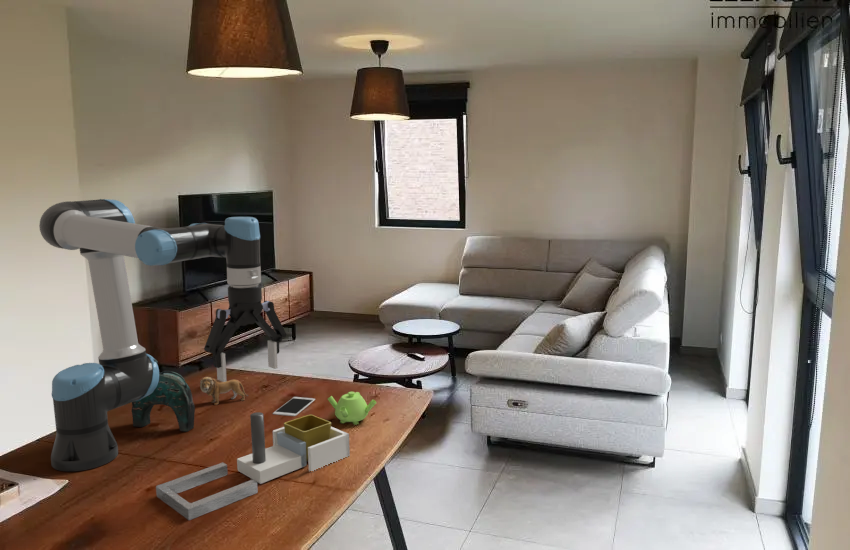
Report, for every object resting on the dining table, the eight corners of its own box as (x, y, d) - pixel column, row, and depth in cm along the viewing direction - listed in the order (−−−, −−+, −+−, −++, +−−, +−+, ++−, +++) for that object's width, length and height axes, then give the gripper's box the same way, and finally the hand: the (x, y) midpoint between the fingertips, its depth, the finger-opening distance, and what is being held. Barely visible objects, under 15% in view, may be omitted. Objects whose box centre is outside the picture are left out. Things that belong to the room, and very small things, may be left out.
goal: (311, 472, 163) (310, 448, 162) (273, 452, 174) (272, 430, 173) (349, 456, 171) (349, 433, 170) (311, 439, 182) (310, 417, 181)
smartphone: (315, 398, 213) (295, 415, 199) (315, 400, 213) (295, 417, 199) (293, 396, 215) (271, 413, 200) (294, 398, 215) (271, 415, 201)
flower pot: (312, 446, 178) (310, 413, 176) (333, 455, 172) (332, 422, 170) (284, 456, 171) (282, 422, 170) (305, 467, 165) (303, 432, 164)
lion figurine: (203, 408, 205) (202, 380, 204) (199, 403, 210) (197, 375, 208) (251, 399, 213) (249, 372, 212) (245, 394, 218) (244, 367, 216)
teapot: (362, 410, 203) (361, 383, 201) (378, 423, 193) (377, 395, 191) (326, 417, 197) (326, 389, 196) (341, 431, 188) (340, 401, 186)
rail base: (189, 520, 141) (188, 509, 140) (156, 496, 151) (155, 486, 151) (257, 492, 153) (257, 482, 152) (223, 472, 163) (222, 462, 162)
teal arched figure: (125, 427, 191) (121, 358, 188) (140, 419, 197) (136, 352, 194) (186, 434, 186) (183, 363, 183) (200, 426, 192) (197, 357, 189)
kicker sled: (260, 483, 156) (257, 423, 154) (237, 470, 163) (234, 412, 160) (306, 465, 165) (304, 408, 163) (283, 453, 172) (280, 398, 170)
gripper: (202, 294, 143) (207, 390, 147) (299, 280, 161) (301, 365, 165) (185, 289, 148) (190, 382, 152) (281, 276, 166) (283, 359, 170)
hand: (248, 373), depth 158 cm, fingers open, 13 cm apart
